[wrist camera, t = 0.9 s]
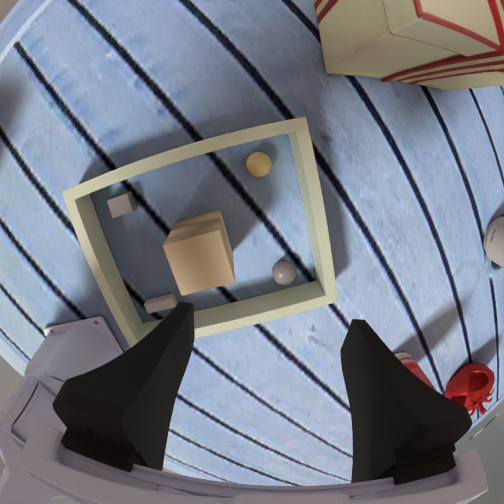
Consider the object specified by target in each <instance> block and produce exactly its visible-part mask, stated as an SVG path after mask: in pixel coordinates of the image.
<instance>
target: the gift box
mask: <svg viewBox="0 0 504 504" xmlns="http://www.w3.org/2000/svg"><path fill="white" fill-rule="evenodd" d="M313 1H314V6H315V12H316V16H317V22H318V26H319V32H320V38H321V46H322V53H323V59H324V67H325V72H326V74H338V75H354V76H364V77H372V78H379V79H380V80H381V81H382V82H389V81H401V82H404V83H407V84H419V85H424V86H428V87H433V88H437V89H442V90H445V91H452V90H460V89H470V88H480V87H490V86H504V0H313Z"/></svg>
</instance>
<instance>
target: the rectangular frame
mask: <svg viewBox="0 0 504 504" xmlns="http://www.w3.org/2000/svg"><path fill="white" fill-rule="evenodd" d="M287 133H288V137H289V141H290V145H291V150H292V154H293V159H294V163H295V168H296V172H297V177H298V182H299V186H300V191H301V196H302V201H303V206H304V211H305V216H306V222H307V227H308V232H309V238H310V243H311V249H312V255H313V261H314V267H315V273H316V279H317V280H316V281H312V282H309V283H305V284H301V285H298V286H294V287H290V288H287V289H283V290H279V291H276V292H272V293H268V294H264V295H260V296H256V297H253V298H249V299H245V300H241V301H237V302H233V303H229V304H225V305H220V306H216V307H212V308H208V309H204V310H199V311H195V312H194V329H195V338H198V337H203V336H207V335H212V334H216V333H221V332H225V331H229V330H234V329H238V328H242V327H246V326H250V325H254V324H258V323H262V322H266V321H270V320H274V319H278V318H281V317H285V316H289V315H293V314H296V313H300V312H303V311H307V310H310V309H314V308H317V307H321V306H324V305H328V304H331V303H334V302H338V301H337V292H336V283H335V275H334V267H333V260H332V253H331V246H330V239H329V233H328V226H327V220H326V214H325V208H324V203H323V197H322V191H321V186H320V181H319V176H318V171H317V166H316V161H315V156H314V151H313V146H312V142H311V137H310V133H309V128H308V124H307V120H306V117H300V118H295V119H289V120H284V121H279V122H274V123H270V124H265V125H260V126H256V127H252V128H247V129H243V130H239V131H235V132H231V133H227V134H223V135H219V136H216V137H212V138H208V139H205V140H201V141H198V142H194V143H191V144H188V145H184V146H181V147H178V148H175V149H172V150H169V151H165V152H162V153H159V154H156V155H154V156H151V157H148V158H145V159H142V160H139V161H136V162H134V163H131V164H128V165H126V166H123V167H120V168H118V169H115V170H113V171H110V172H108V173H105V174H103V175H100V176H98V177H95V178H93V179H91V180H88V181H86V182H84V183H81V184H79V185H77V186H75V187H72V188H70V189H68V190H66V191H64V192H62V194H63V198H64V201H65V204H66V207H67V210H68V212H69V215H70V218H71V221H72V224H73V226H74V229H75V232H76V234H77V237H78V239H79V242H80V244H81V247H82V249H83V252H84V254H85V257H86V259H87V261H88V264H89V266H90V268H91V271H92V273H93V275H94V277H95V280H96V282H97V284H98V286H99V288H100V290H101V292H102V294H103V296H104V299H105V301H106V303H107V305H108V307H109V309H110V311H111V313H112V314H113V316H114V318H115V320H116V322H117V324H118V326H119V328H120V330H121V331H122V333H123V335H124V337H125V339H126V340H127V342H128V344H129V346H130V347H132V346H134V345H135V344H136V343H138V342H139V341H140V340H141V339H143V338H144V337H145V336H146V335H147V334H148V333H149V332H151V331H152V330H153V329H154V328H155V327H156V326H157V325H158V324H159V323H160V322H161V321H162V320H163V319H159V320H155V321H150V322H145V323H143V322H142V320H141V318H140V316H139V314H138V312H137V310H136V308H135V306H134V304H133V302H132V299H131V297H130V295H129V293H128V291H127V289H126V286H125V284H124V282H123V280H122V277H121V275H120V273H119V270H118V268H117V266H116V263H115V261H114V258H113V256H112V254H111V251H110V249H109V246H108V243H107V241H106V238H105V236H104V233H103V230H102V228H101V225H100V222H99V219H98V217H97V214H96V211H95V208H94V205H93V202H92V199H91V196H90V193H92V192H94V191H96V190H99V189H101V188H104V187H107V186H109V185H112V184H114V183H117V182H120V181H122V180H125V179H128V178H130V177H133V176H136V175H139V174H142V173H145V172H147V171H150V170H153V169H156V168H159V167H162V166H165V165H169V164H172V163H175V162H178V161H181V160H185V159H188V158H191V157H195V156H198V155H202V154H205V153H209V152H212V151H216V150H219V149H223V148H227V147H231V146H235V145H239V144H243V143H247V142H251V141H255V140H260V139H264V138H268V137H273V136H278V135H282V134H287ZM246 167H247V169H248V171H249V172H250V173H251V174H252V175H254V176H257V177H262V176H265V175H267V174H268V173H269V172H270V170H271V168H272V161H271V159H270V157H269V156H268V155H267V154H265V153H263V152H254V153H252V154H250V155H249V156H248V158H247V160H246ZM107 203H108V206H109V209H110V212H111V215H112V218H115V217H118V216H121V215H124V214H127V213H130V212H133V211H134V210H135V209H137V207H136V204H135V201H134V198H133V195H132V192H131V191H130V192H127V193H124V194H121V195H119V196H116V197H113V198H111V199H109V200H107ZM272 272H273V276H274V279H275V281H276V282H277V283H279V284H281V285H287V284H289V283H291V282H292V281H293V280H294V279H295V276H296V271H295V269H294V267H293V265H292V264H291V263H290V262H289V261H286V260H282V261H279V262H277V263H276V264H275V265H274V266H273V269H272ZM176 305H177V299H176V297H175V295H174V293H172V294H168V295H164V296H160V297H156V298H151V299H147V300H146V301H145V304H144V306H145V309H146V311H147V313H153V312H157V311H162V310H166V309H171V308H175V306H176Z"/></svg>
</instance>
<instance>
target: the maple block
mask: <svg viewBox="0 0 504 504" xmlns="http://www.w3.org/2000/svg"><path fill="white" fill-rule="evenodd" d="M163 248H164V251H165V254H166V256H167V259H168V262H169V264H170V267H171V270H172V272H173V275H174V277H175V280H176V283H177V285H178V288H179V290H180V293H181V295H182V296H183V295H187V294H191V293H195V292H200V291H204V290H208V289H212V288H216V287H220V286H224V285H228V284H232V283H235V276H234V263H233V251H232V248H231V244H230V241H229V238H228V234H227V231H226V227H225V224H224V220H223V217H222V213H221V209H220V210H217V211H213V212H209V213H206V214H202V215H199V216H195V217H192V218H188V219H185V220H181V221H178V222H176V223H175V225H174V226H173V228H172V230H171V232H170V233H169V235H168V237H167V239H166V240H165V242H164V244H163Z"/></svg>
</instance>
